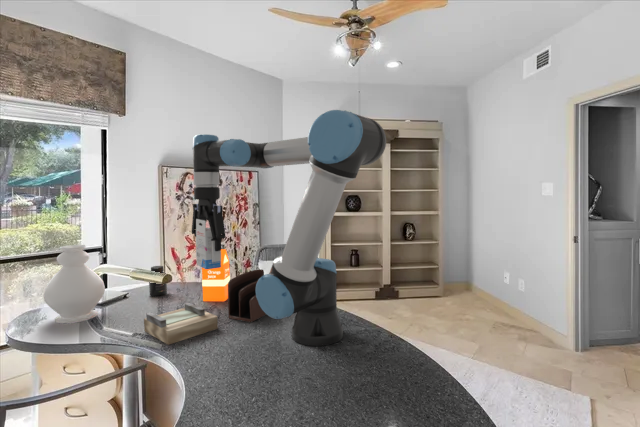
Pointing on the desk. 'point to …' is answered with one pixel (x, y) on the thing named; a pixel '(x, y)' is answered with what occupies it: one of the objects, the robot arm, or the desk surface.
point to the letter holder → (244, 297)
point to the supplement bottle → (154, 288)
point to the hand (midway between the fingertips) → (208, 259)
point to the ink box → (204, 246)
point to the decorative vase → (74, 287)
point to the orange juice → (216, 280)
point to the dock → (180, 324)
